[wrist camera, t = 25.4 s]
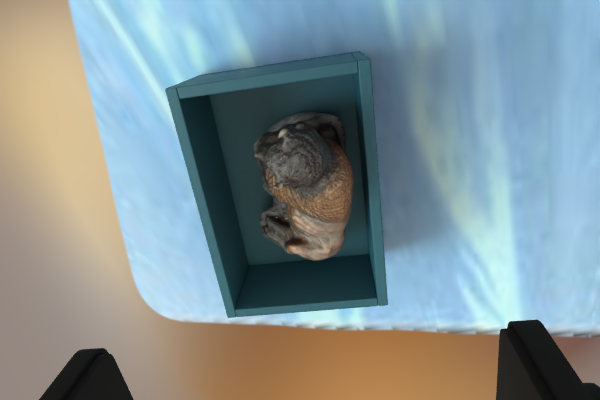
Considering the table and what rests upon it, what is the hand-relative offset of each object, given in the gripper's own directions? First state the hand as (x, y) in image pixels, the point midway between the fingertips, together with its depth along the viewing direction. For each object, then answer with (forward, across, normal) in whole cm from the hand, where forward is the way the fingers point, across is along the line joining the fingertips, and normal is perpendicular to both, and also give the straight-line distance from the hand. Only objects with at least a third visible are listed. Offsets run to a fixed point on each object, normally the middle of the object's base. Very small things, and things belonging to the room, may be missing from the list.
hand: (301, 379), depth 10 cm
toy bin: (+23, +3, +3) cm, 23 cm away
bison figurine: (+22, +2, +3) cm, 23 cm away
